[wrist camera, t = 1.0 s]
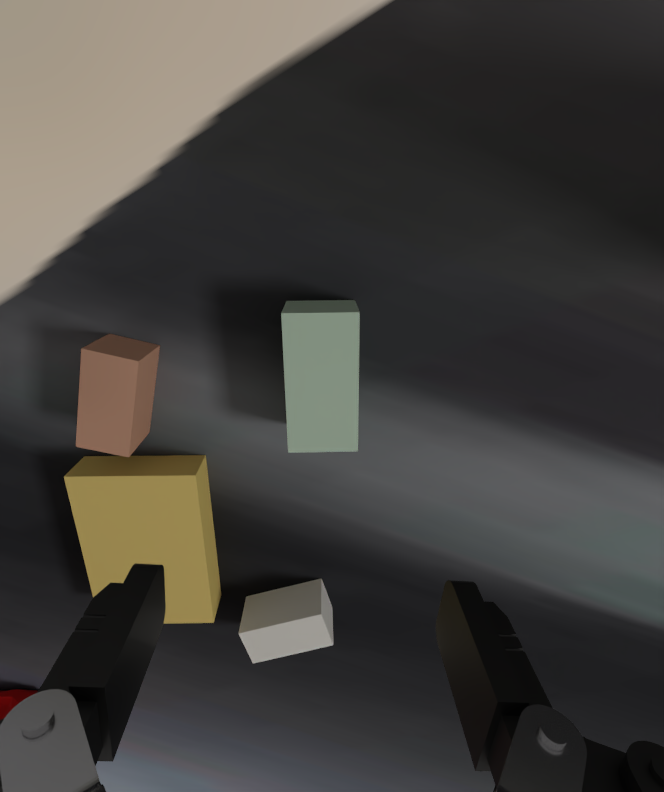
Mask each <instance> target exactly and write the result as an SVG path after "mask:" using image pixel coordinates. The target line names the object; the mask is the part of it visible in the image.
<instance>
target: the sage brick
mask: <svg viewBox="0 0 664 792" xmlns="http://www.w3.org/2000/svg"><path fill="white" fill-rule="evenodd" d="M281 320H282V340H283V360H284V380H285V400H286V419H287V439H288V453H299V452H352V451H358V402H359V320H360V312H359V310H358V307H357V305H356V302H355V300H317V301H286V303H285V306H284V308H283V310H282V313H281Z"/></svg>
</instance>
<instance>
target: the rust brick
mask: <svg viewBox="0 0 664 792" xmlns="http://www.w3.org/2000/svg"><path fill="white" fill-rule="evenodd" d="M159 349H160V345H156V344H152V343H148V342H143V341H139V340H135V339H130V338H126V337H122V336H117V335H113V334H108V335H106V336H104V337H102V338H100V339H98V340H96V341H94V342H93V343H91V344H89V345H87V346H85V347H83V348H81V363H80V381H79V399H78V416H77V434H76V447H80V448H85V449H90V450H95V451H100V452H104V453H109V454H114V455H119V456H124V457H130V455H131V454H132V453H133V452H134V450H135V449H136V448H137V447H138V446H139V444H140V443H141V442H142V441H143V440H144V438H145V437H146V436H147V435H148V433H149V432H150V423H151V415H152V407H153V399H154V390H155V382H156V374H157V365H158V357H159Z"/></svg>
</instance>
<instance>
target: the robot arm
mask: <svg viewBox="0 0 664 792" xmlns="http://www.w3.org/2000/svg"><path fill="white" fill-rule="evenodd" d="M165 609H166V604H165V578H164V567H163V565H157V564H138V563H135V564H134V565H133V566H132V567H131V569H130V571H129V573H128V575H127V577H126V579H125V581H124V582H123V583H109V584H108V585H107V586H106V587H105V588H104V589H102V590H101V591H100V592H99V593H98V594H97V595H96V596H94V598H93V599H92V601H91V603H90V604H89V606H88V608H87V609H86V611H85V613H84V616H83V618H81V620H80V621H79V623H78V625H77V626H76V628H75V632H73V633H72V635H71V637H70V638H69V640H68V642H67V643H66V645H65V647H64V648H63V650H62V652H61V654H60V655H59V657H58V659H57V660H56V662H55V664H54V665H53V667H52V669H51V671H50V672H49V674H48V676H47V677H46V679H45V681H44V682H43V684H42V686H41V687H40V689H39V690H38V692H37V693H36V694H33V695H31V696H29V697H27V698H26V699H24V700H23V701H21V702H20V703H19V704H17V705H16V706H15V707H14V708H13V709H12V710H11V711H10V712H9V713H8V714H7V716H6V717H5V718H3V719H1V720H0V792H106V791H105V788H104V786H103V785H101V784H100V781H99V778H98V774H97V771H96V768H95V766H96V763H97V761H113V759H114V757H115V754H116V751H117V749H118V746H119V743H120V741H121V738H122V735H123V733H124V730H125V727H126V725H127V722H128V719H129V716H130V714H131V711H132V708H133V706H134V703H135V700H136V698H137V695H138V692H139V690H140V687H141V684H142V682H143V679H144V676H145V674H146V671H147V668H148V666H149V663H150V660H151V658H152V655H153V652H154V650H155V647H156V644H157V641H158V639H159V636H160V633H161V631H162V627H163V623H164V618H165ZM436 637H437V643H438V646H439V650H440V653H441V657H442V660H443V663H444V667H445V670H446V673H447V677H448V680H449V684H450V687H451V690H452V694H453V697H454V700H455V704H456V707H457V711H458V714H459V717H460V721H461V724H462V727H463V731H464V734H465V738H466V741H467V744H468V748H469V751H470V754H471V758H472V761H473V765H474V768H475V771H491V773H492V776H493V779H494V782H495V788H494V790H493V792H664V747H662V746H660V745H658V744H655V743H652V742H648V741H637V742H634V743H632V744H631V745H630V746H629V748H628V750H627V752H626V753H624V752H621V751H619V750H616V749H613V748H610V747H607V746H605V745H602V744H599V743H596V742H593V741H591V740H589V739H586V738H585V737H583V736H582V735H581V733H580V732H579V730H578V729H577V728H576V726H575V725H574V724H573V723H572V722H571V721H570V720H569V719H568V718H567V717H566V716H564V715H563V714H562V713H560V712H559V711H557V710H555V709H553V708H552V706H551V704H550V702H549V700H548V698H547V696H546V694H545V692H544V690H543V688H542V686H541V684H540V682H539V680H538V678H537V676H536V674H535V672H534V670H533V668H532V666H531V664H530V662H529V660H528V658H527V656H526V654H525V652H523V647H522V645H521V643H520V641H519V639H518V638H517V637H516V633H515V631H514V629H513V627H512V625H511V623H510V621H509V619H508V617H507V616H506V615H505V614H504V613H503V612H502V611H501V610H500V609H499V608H498V607H497V606H496V604H495V603H494V602H484V601H483V598H482V596H481V594H480V592H479V590H478V587H477V585H476V584H475V583H474V582H470V581H450V580H448V581H447V582H446V583H445V586H444V591H443V595H442V599H441V603H440V608H439V612H438V616H437V621H436Z"/></svg>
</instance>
